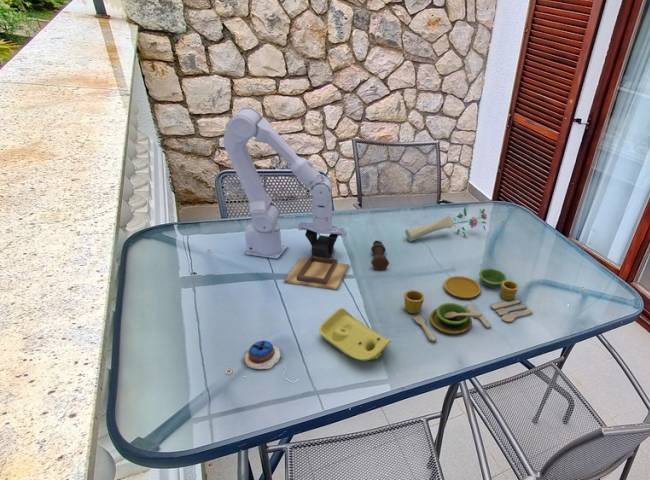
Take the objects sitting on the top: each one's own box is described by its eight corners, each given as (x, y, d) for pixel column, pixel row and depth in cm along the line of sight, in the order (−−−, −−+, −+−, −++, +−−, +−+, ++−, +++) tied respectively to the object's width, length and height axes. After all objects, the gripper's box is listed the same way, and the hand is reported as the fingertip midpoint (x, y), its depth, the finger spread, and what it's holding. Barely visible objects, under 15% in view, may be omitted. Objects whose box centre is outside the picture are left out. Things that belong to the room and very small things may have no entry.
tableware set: (427, 345, 118) (430, 328, 114) (388, 291, 134) (389, 274, 131) (537, 315, 142) (542, 300, 139) (492, 272, 159) (496, 258, 156)
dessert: (248, 343, 103) (262, 330, 101) (274, 355, 106) (287, 342, 105) (236, 368, 97) (250, 355, 95) (264, 380, 100) (278, 367, 98)
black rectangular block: (311, 260, 139) (311, 247, 137) (320, 247, 147) (320, 235, 144) (326, 262, 140) (325, 249, 137) (333, 249, 147) (333, 237, 145)
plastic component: (315, 329, 109) (344, 303, 114) (327, 344, 115) (354, 318, 120) (365, 366, 101) (394, 335, 106) (376, 379, 107) (403, 350, 111)
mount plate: (284, 282, 127) (284, 275, 125) (301, 259, 138) (300, 253, 137) (336, 289, 129) (336, 283, 128) (348, 266, 141) (348, 260, 140)
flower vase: (407, 252, 171) (477, 226, 189) (420, 259, 162) (493, 231, 179) (399, 225, 166) (473, 201, 183) (412, 230, 157) (488, 205, 174)
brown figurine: (379, 252, 156) (382, 273, 144) (367, 246, 153) (368, 266, 141) (388, 240, 154) (391, 261, 143) (376, 234, 151) (378, 254, 140)
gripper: (348, 214, 140) (348, 249, 147) (302, 206, 137) (304, 242, 145) (343, 222, 134) (343, 259, 141) (295, 214, 132) (297, 252, 139)
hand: (323, 251), depth 143 cm, fingers closed on black rectangular block, 4 cm apart
